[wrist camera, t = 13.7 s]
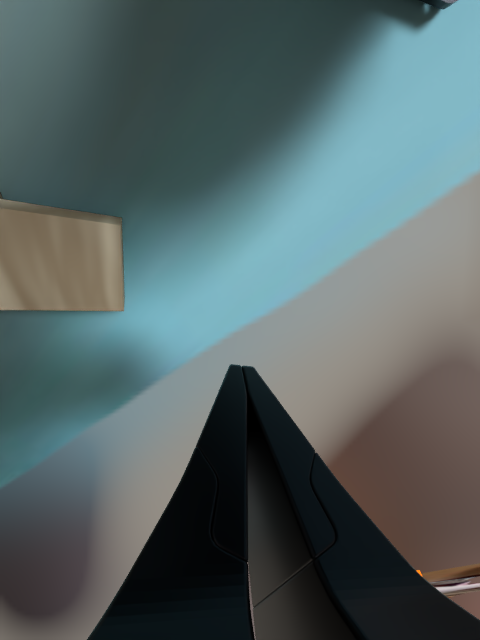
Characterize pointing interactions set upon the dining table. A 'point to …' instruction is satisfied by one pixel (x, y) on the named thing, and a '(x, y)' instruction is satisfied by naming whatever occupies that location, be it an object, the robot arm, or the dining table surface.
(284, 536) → the robot arm
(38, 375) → the dining table surface
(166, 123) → the dining table surface
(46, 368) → the dining table surface
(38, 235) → the domino
